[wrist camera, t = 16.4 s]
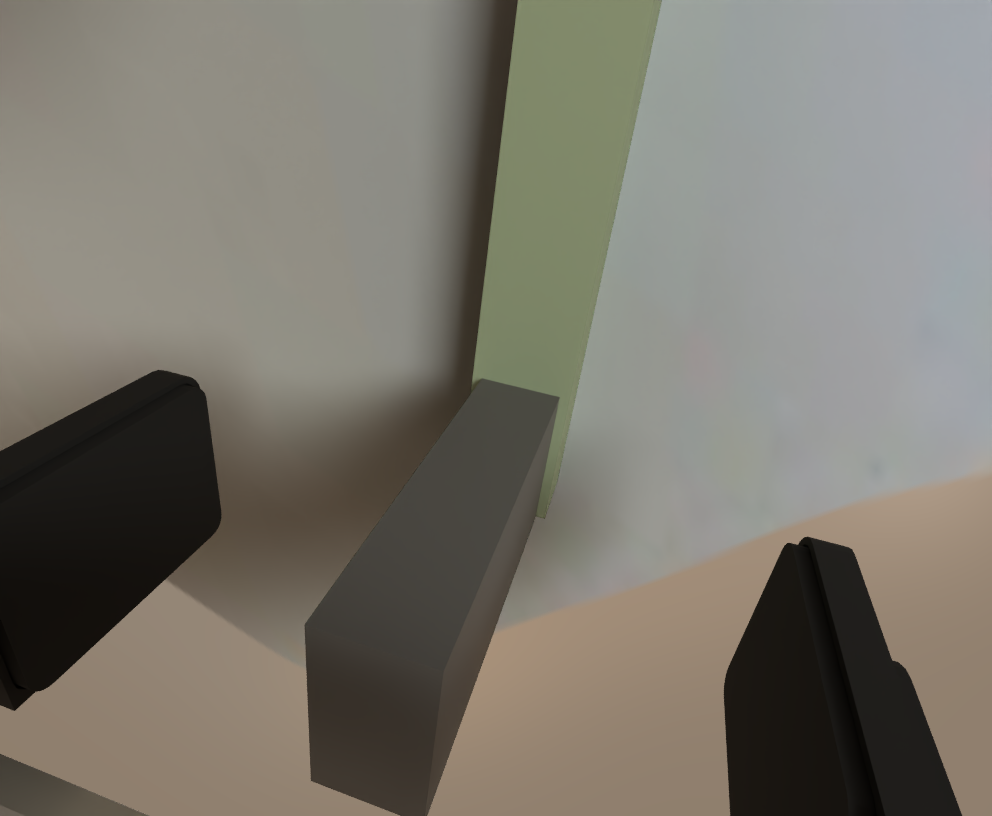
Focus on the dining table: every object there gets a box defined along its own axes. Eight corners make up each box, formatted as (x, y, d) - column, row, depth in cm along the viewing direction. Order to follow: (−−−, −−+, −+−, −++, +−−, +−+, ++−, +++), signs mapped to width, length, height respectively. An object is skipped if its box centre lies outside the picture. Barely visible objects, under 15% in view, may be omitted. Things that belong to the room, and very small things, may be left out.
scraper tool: (675, -59, 10) (634, -458, 3) (558, 478, 15) (438, 830, 8) (551, -72, 10) (224, -452, 3) (479, 457, 15) (297, 775, 8)
